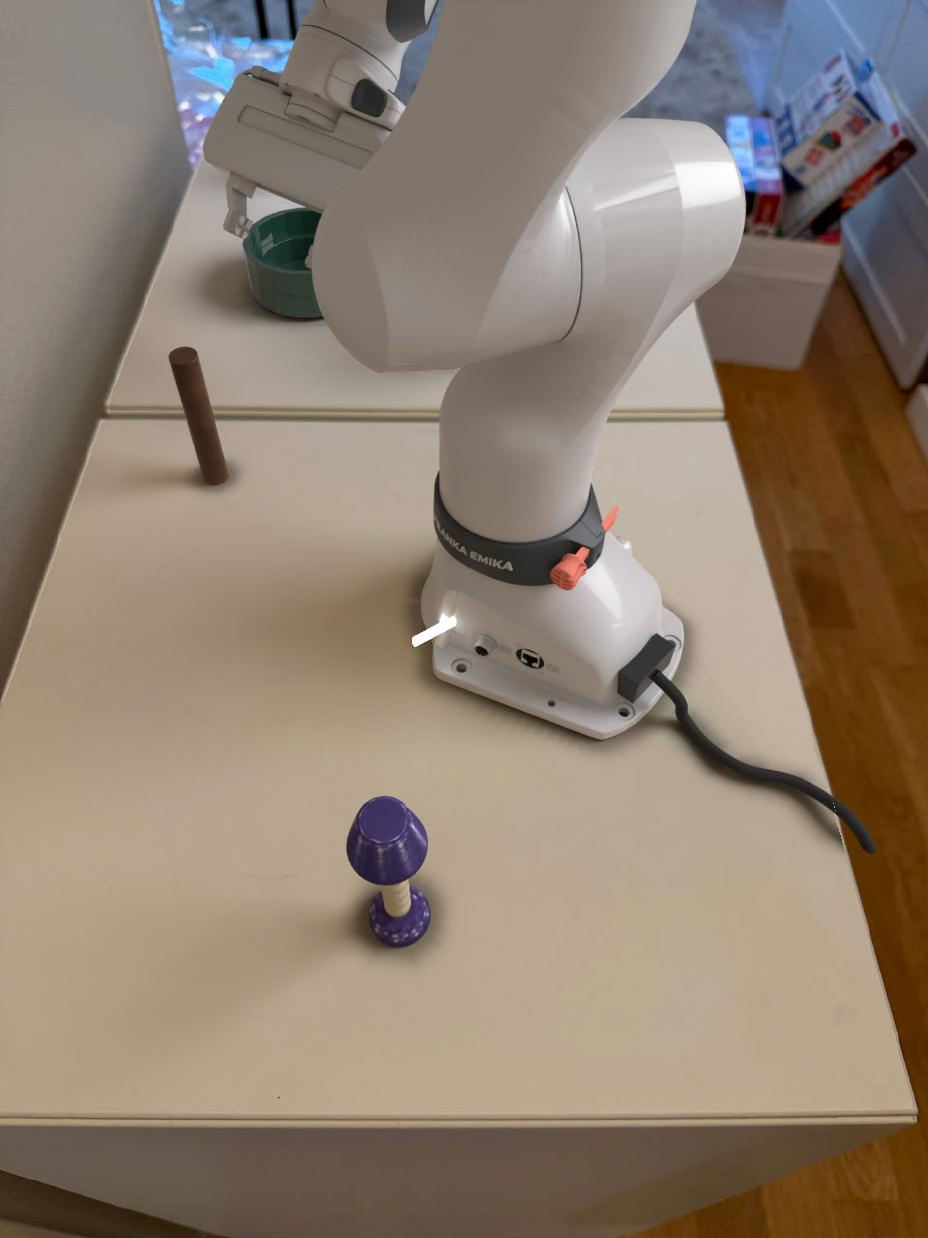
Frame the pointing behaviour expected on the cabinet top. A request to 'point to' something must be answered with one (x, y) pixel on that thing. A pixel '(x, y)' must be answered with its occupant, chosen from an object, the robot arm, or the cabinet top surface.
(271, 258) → the bowl
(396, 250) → the robot arm
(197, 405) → the stirring stick
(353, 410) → the cabinet top surface
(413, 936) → the toy lamp
